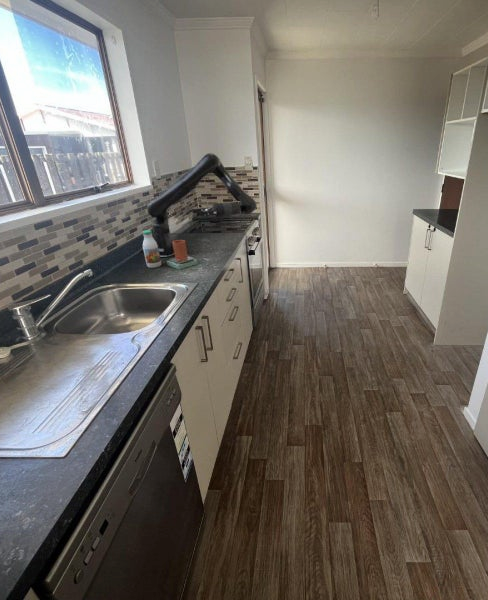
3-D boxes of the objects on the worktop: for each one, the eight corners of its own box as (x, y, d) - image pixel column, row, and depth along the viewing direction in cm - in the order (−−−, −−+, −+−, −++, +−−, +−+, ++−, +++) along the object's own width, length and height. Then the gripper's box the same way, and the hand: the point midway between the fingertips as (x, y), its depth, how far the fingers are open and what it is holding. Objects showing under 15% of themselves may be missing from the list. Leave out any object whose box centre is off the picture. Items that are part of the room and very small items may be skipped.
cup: (173, 259, 186) (169, 241, 181) (183, 256, 190) (180, 239, 186) (179, 261, 182) (176, 243, 178) (190, 258, 186) (187, 241, 182)
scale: (167, 265, 187) (166, 260, 185) (185, 259, 195) (185, 255, 194) (179, 269, 180) (178, 264, 179) (197, 263, 188) (197, 259, 187)
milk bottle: (144, 267, 184) (135, 232, 176) (154, 263, 191) (147, 228, 182) (154, 268, 181) (146, 233, 173) (164, 264, 188) (157, 229, 179)
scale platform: (169, 260, 186) (168, 259, 185) (184, 256, 193) (184, 255, 192) (178, 263, 180) (178, 262, 180) (194, 259, 187) (194, 258, 187)
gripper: (218, 201, 192) (190, 204, 184) (226, 204, 181) (196, 207, 173) (219, 214, 195) (192, 217, 188) (227, 218, 184) (198, 221, 177)
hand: (194, 212), depth 181 cm, fingers open, 8 cm apart
